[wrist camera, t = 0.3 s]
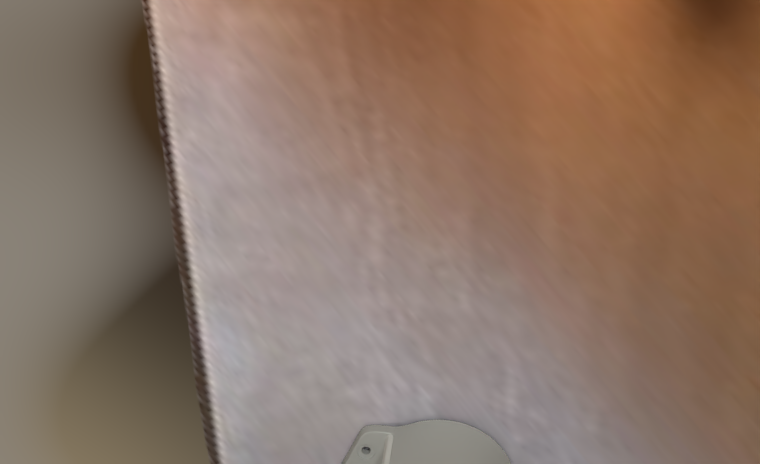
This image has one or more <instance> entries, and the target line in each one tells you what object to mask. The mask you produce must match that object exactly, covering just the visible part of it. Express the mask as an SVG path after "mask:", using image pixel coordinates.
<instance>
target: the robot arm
mask: <svg viewBox="0 0 760 464" xmlns="http://www.w3.org/2000/svg"><path fill="white" fill-rule="evenodd" d="M363 447H369V448H370V449H369V450H365V449H363ZM342 464H511V463H510V460H509V458H508V457H507V455H506V453H505V452H504V451H503V449H502V448H501V447H500V446H499V445H498V444H497V443H496V442H495V441H494V440H493V439H492V438H491V437H489V436H488V435H487V434H485V433H484V432H482V431H480V430H478V429H476V428H474V427H472V426H469V425H467V424H464V423H460V422H455V421H449V420H426V421H420V422H416V423H412V424H408V425H404V426H398V427H393V426H384V425H369V426H366V427H364V428H363V429H362V430H361V431H360V433H359V434H358V436H357V438H356V440H355V441H354V443H353V445H352V447H351V448H350V450H349V452H348V454H347V455H346V457H345V459H344V461H343V462H342Z"/></svg>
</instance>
